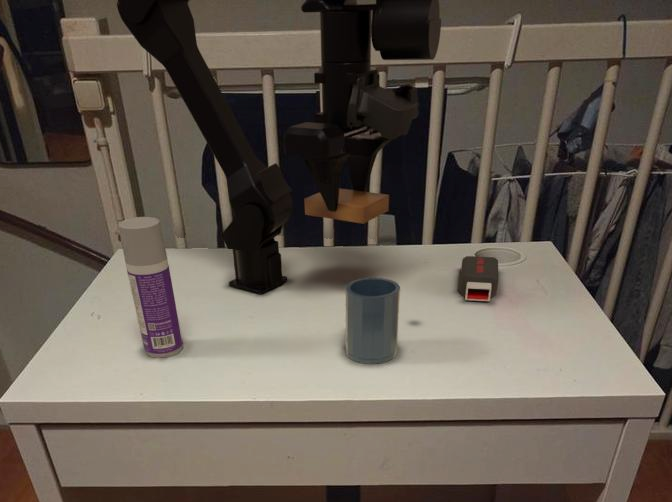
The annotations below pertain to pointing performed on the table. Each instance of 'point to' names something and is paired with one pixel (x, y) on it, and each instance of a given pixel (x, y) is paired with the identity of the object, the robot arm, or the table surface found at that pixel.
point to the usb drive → (479, 278)
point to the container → (151, 285)
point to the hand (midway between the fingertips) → (346, 204)
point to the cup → (372, 319)
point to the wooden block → (349, 206)
